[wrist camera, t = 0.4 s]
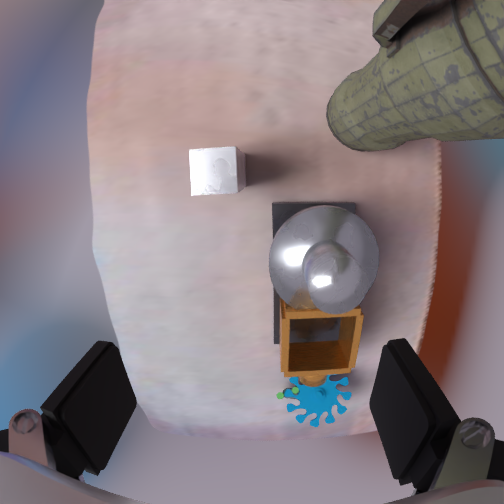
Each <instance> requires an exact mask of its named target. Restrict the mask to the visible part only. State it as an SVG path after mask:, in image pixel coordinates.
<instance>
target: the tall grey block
mask: <svg viewBox="0 0 504 504" xmlns="http://www.w3.org/2000/svg"><path fill="white" fill-rule="evenodd" d="M189 153H190V175H191V192H192V195H208V194H228V193H238V192H240V191H241V190H242V189H244V188H245V187H246V166H245V153H244V152H242V151H241V150H240V149H238V148H237V147H236V146H234V147H219V148H206V149H195V150H189Z"/></svg>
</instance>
